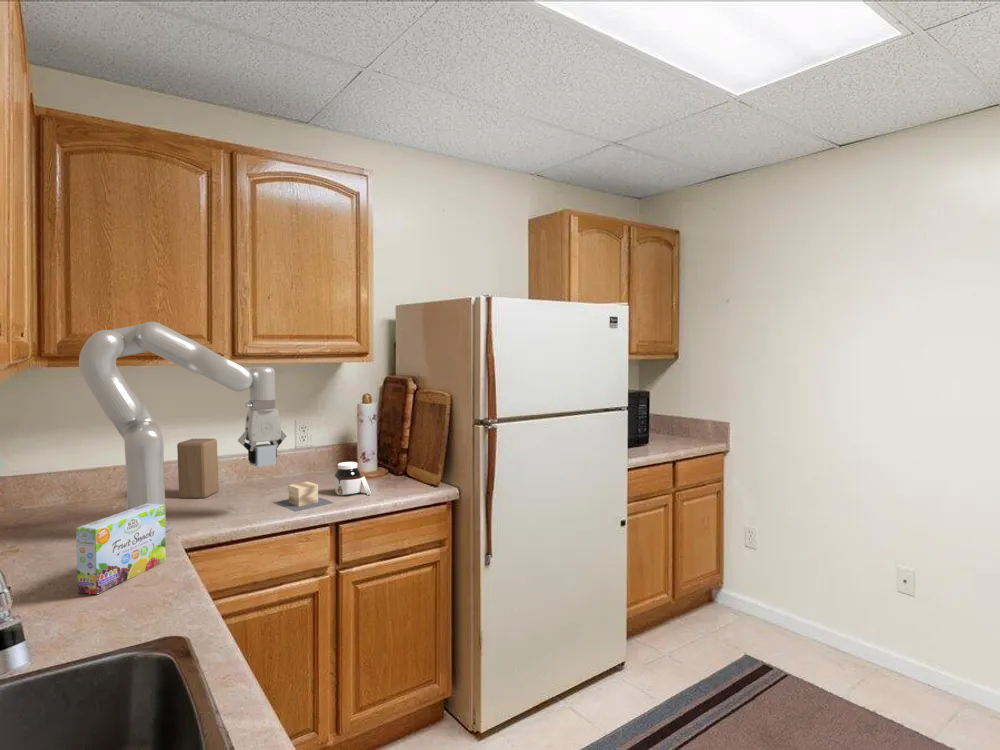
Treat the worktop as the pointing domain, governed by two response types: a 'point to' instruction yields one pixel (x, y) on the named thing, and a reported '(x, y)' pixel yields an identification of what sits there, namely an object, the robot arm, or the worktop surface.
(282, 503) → the build mat
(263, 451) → the grey cube
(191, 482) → the block
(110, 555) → the snack box
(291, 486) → the base block
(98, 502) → the worktop surface
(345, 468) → the spread jar
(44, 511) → the worktop surface
